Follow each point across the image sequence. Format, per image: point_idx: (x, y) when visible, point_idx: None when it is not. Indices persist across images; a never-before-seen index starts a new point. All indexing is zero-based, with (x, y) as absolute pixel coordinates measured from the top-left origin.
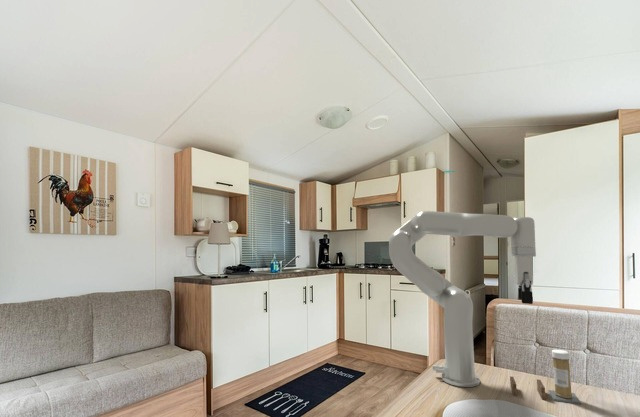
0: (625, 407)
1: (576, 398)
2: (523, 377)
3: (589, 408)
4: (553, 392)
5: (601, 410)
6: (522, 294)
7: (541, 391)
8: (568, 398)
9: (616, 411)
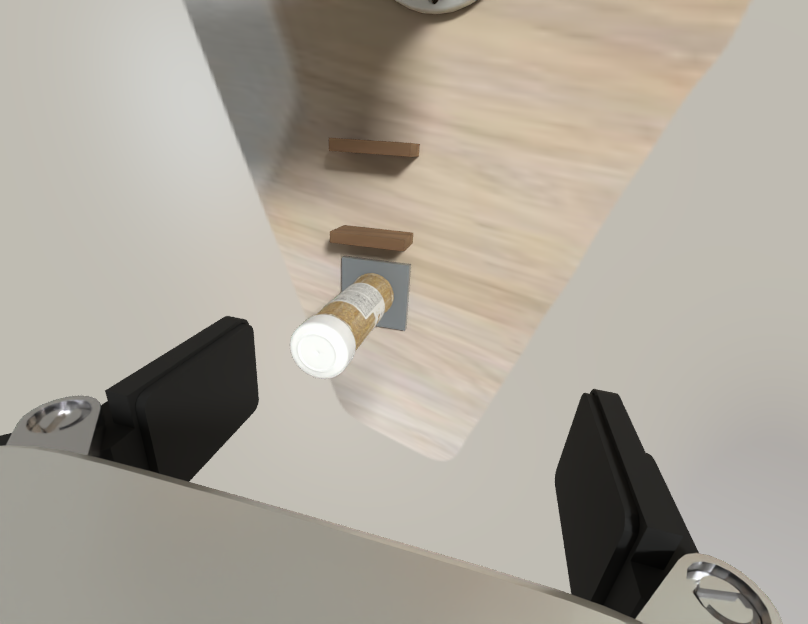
0: (360, 408)
1: None
2: (541, 219)
3: None
4: (392, 274)
5: None
6: (153, 374)
7: (335, 229)
8: None
9: None
